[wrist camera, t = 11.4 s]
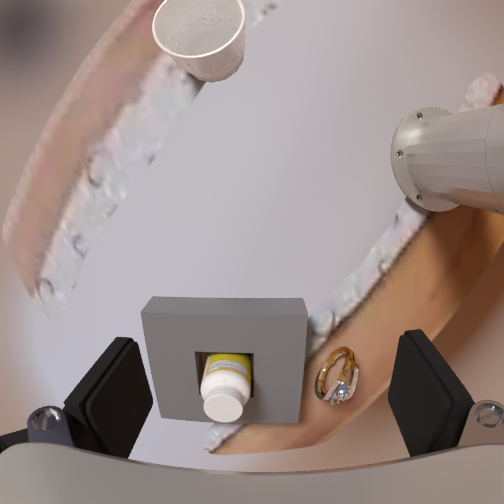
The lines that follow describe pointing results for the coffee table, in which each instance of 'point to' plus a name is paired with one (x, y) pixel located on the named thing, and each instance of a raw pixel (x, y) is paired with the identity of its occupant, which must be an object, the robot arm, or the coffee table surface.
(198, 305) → the socket block
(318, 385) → the ring
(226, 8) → the white cup
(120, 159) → the coffee table surface
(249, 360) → the supplement bottle
